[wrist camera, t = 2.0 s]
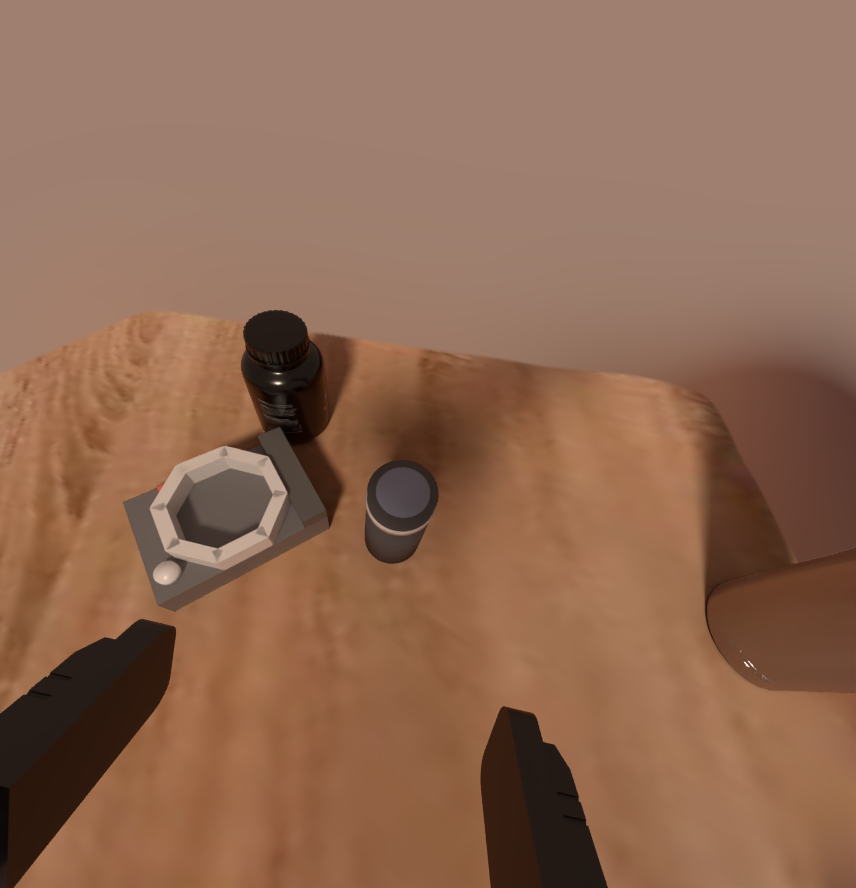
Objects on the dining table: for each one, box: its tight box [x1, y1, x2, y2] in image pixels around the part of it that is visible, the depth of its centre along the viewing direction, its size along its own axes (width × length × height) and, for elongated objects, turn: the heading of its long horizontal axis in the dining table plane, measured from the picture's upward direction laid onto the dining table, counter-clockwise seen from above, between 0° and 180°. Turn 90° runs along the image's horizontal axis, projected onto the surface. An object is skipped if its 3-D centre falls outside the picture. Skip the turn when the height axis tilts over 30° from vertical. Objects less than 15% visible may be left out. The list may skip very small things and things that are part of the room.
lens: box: [365, 460, 438, 564], centre depth 32 cm, size 5×5×10 cm
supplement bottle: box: [241, 310, 329, 444], centre depth 36 cm, size 7×7×12 cm
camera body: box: [123, 427, 329, 612], centre depth 33 cm, size 13×9×5 cm
